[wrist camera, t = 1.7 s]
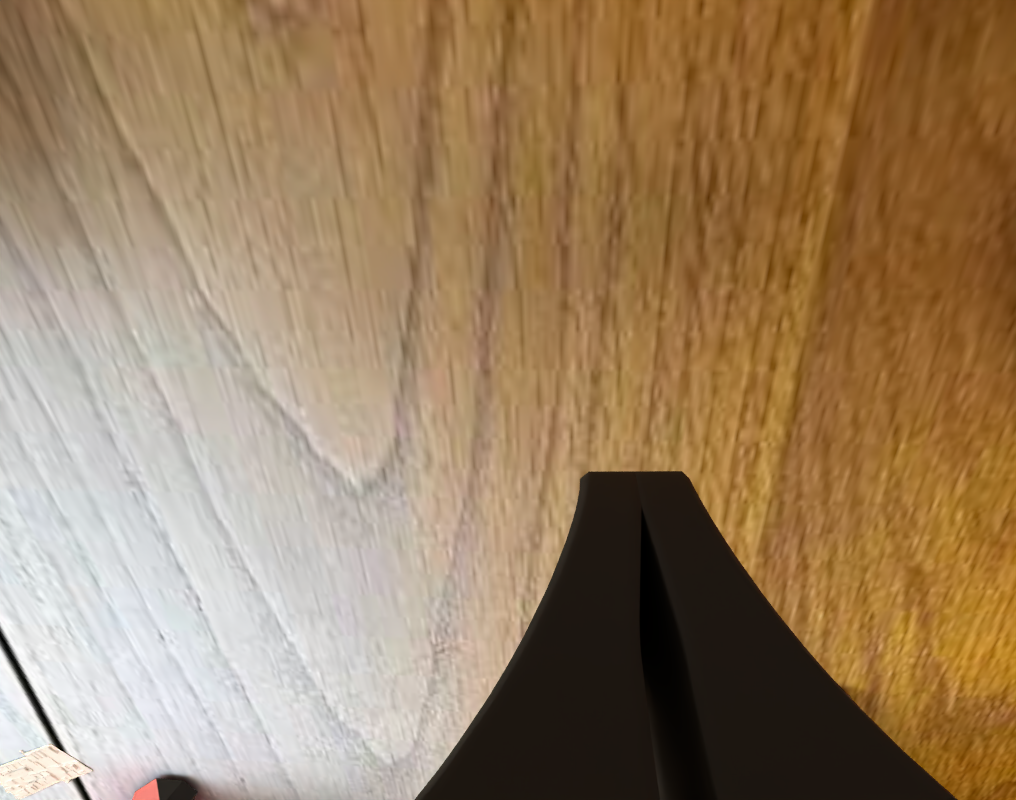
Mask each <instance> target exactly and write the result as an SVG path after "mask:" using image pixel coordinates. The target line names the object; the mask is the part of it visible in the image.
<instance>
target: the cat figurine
mask: <svg viewBox="0 0 1016 800" xmlns="http://www.w3.org/2000/svg"><path fill="white" fill-rule="evenodd" d="M196 794H197V791H196V790H195V789H193V788H192V787H191V786H189V785H188V784H186V783H185V782H184V781H180V780H169V779H158V778H156V779H154V780H153V781H151V782H150V783H148V784H147V785H145V786H144V787H142V788H140V789H139V790H137V791H136V792H135V794H134V796H133V799H132V800H194V799H195V796H196Z"/></svg>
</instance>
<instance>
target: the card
mask: <svg viewBox="0 0 1016 800" xmlns="http://www.w3.org/2000/svg"><path fill="white" fill-rule="evenodd" d="M20 752H21V753H22V754H23V755H25V757H23V758H20V759H17V760H14V761H12V762H9V763H6V764H3V765H1V766H0V784H1V785H2V786H3V788H6V790H5V791H6V792H7V793H9V792H11V793H12V794H13V795H15V798H16V799H22V798H24V797H26V796H28V795H31V794H33V793H35V792H37V791H40V790H42V789H44V788H46V787H49V786H51V785H53V784H55V783H58V782H60V781H65V782H66V783H69V780H71V779H73V778H76V777H78V776H81V775H84V774H86V773H89V772H92V770H91V769H89V768H88V767H86V766H84V765H83V764H81V763H80V762H78V761H77V760H76V759H74V758H72V757H71V756H69V755H68V754H66V753H64V752H63V751H61V750H59V749H58V748H56V747H55V746H53V745H51V744H49V745H46V746H43V747H40V748H37V749H34V750H32V751H29V752H26V753H24V752H23V751H20Z"/></svg>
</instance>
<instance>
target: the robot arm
mask: <svg viewBox="0 0 1016 800" xmlns="http://www.w3.org/2000/svg"><path fill="white" fill-rule="evenodd" d="M415 800H957V799H956V798H955V797H954V796H953V795H952V794H951V793H949V792H948V791H947V790H946V789H945V788H944V787H943V786H942V785H940V784H939V783H938V782H937V781H936V780H935V779H934V778H933V777H932V776H930V775H929V774H928V773H927V772H926V771H925V770H924V769H923V768H921V767H920V766H919V765H918V764H917V763H916V762H915V761H914V760H913V759H911V758H910V757H909V756H908V755H907V754H906V753H905V752H904V751H903V750H902V749H901V748H900V747H898V746H897V745H896V744H895V743H894V742H893V741H892V740H891V739H890V738H889V737H888V736H887V735H886V734H885V733H884V732H883V731H882V730H881V729H880V728H879V727H878V726H877V725H876V724H875V723H874V722H873V721H872V720H871V719H870V718H869V717H868V716H867V715H866V714H865V713H864V712H863V711H862V710H861V709H860V708H859V707H858V705H857V704H856V703H855V702H854V701H853V700H852V699H851V697H850V696H849V695H848V694H846V693H845V692H844V691H843V689H842V688H841V687H840V686H839V685H838V684H837V683H836V682H835V681H834V680H833V679H832V678H831V677H830V675H829V674H828V673H827V672H826V671H825V670H824V669H823V668H822V666H821V665H820V664H819V663H818V662H817V661H816V660H815V658H814V657H813V656H812V655H811V654H810V653H809V651H808V650H807V649H806V648H805V647H804V646H803V644H802V643H801V642H800V641H799V639H798V638H797V637H796V636H795V635H794V633H793V632H792V631H791V630H790V628H789V627H788V626H787V625H786V623H785V622H784V621H783V620H782V619H781V617H780V616H779V615H778V614H777V612H776V611H775V610H774V608H773V607H772V606H771V604H770V603H769V602H768V600H767V599H766V598H765V597H764V595H763V594H762V592H761V591H760V590H759V588H758V587H757V585H756V584H755V583H754V581H753V580H752V578H751V577H750V576H749V574H748V573H747V571H746V570H745V569H744V567H743V566H742V564H741V563H740V562H739V560H738V559H737V557H736V556H735V554H734V553H733V551H732V550H731V548H730V547H729V545H728V544H727V542H726V541H725V539H724V538H723V536H722V535H721V533H720V531H719V530H718V528H717V527H716V525H715V523H714V522H713V520H712V519H711V517H710V515H709V514H708V512H707V510H706V509H705V507H704V505H703V503H702V502H701V500H700V498H699V496H698V494H697V492H696V491H695V489H694V487H693V485H692V483H691V481H690V479H689V478H688V477H687V476H686V475H685V474H684V473H683V472H682V471H655V472H588V473H587V474H585V475H584V476H583V477H582V478H581V479H580V491H579V497H578V502H577V506H576V511H575V514H574V518H573V521H572V524H571V528H570V531H569V534H568V537H567V540H566V543H565V545H564V548H563V550H562V553H561V556H560V558H559V561H558V563H557V566H556V568H555V571H554V573H553V576H552V578H551V581H550V583H549V585H548V588H547V590H546V592H545V594H544V596H543V598H542V600H541V602H540V604H539V606H538V608H537V610H536V613H535V615H534V617H533V619H532V621H531V623H530V625H529V627H528V629H527V631H526V633H525V635H524V637H523V639H522V641H521V642H520V644H519V646H518V648H517V650H516V652H515V653H514V655H513V657H512V659H511V660H510V662H509V664H508V666H507V667H506V669H505V671H504V673H503V674H502V676H501V677H500V679H499V681H498V682H497V684H496V686H495V687H494V689H493V691H492V692H491V694H490V696H489V697H488V699H487V700H486V702H485V703H484V705H483V706H482V708H481V709H480V711H479V712H478V714H477V715H476V717H475V718H474V720H473V721H472V723H471V724H470V726H469V727H468V729H467V730H466V732H465V733H464V735H463V736H462V738H461V739H460V741H459V742H458V743H457V745H456V746H455V748H454V749H453V750H452V752H451V753H450V755H449V756H448V757H447V759H446V760H445V761H444V763H443V764H442V766H441V767H440V768H439V770H438V771H437V772H436V773H435V775H434V776H433V777H432V778H431V780H430V781H429V782H428V783H427V785H426V786H425V787H424V788H423V790H422V791H421V792H420V794H419V795H418V796H417V797H416V799H415Z"/></svg>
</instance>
